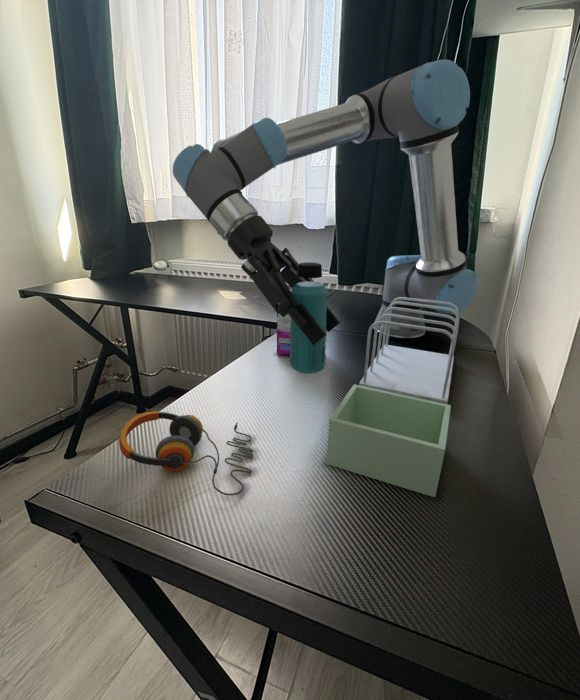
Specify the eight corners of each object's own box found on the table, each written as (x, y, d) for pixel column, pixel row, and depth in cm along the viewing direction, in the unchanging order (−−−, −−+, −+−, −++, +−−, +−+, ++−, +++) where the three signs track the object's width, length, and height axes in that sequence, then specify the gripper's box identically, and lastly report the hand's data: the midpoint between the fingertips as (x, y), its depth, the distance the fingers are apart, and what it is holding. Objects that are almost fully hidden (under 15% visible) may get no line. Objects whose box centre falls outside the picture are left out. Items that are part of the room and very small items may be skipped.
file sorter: (382, 351, 100) (389, 293, 94) (452, 363, 94) (465, 302, 88) (358, 390, 79) (365, 319, 73) (446, 409, 72) (462, 333, 67)
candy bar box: (321, 352, 98) (325, 290, 92) (319, 359, 94) (323, 294, 88) (280, 348, 100) (281, 287, 94) (275, 355, 96) (276, 291, 90)
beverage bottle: (326, 382, 66) (332, 266, 58) (288, 381, 66) (289, 265, 58) (323, 366, 72) (329, 260, 64) (288, 365, 72) (290, 259, 64)
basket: (350, 422, 67) (353, 384, 64) (442, 446, 61) (451, 405, 58) (326, 464, 57) (329, 419, 54) (435, 497, 51) (445, 449, 48)
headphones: (250, 483, 48) (95, 448, 47) (242, 514, 50) (93, 481, 49) (263, 415, 64) (147, 387, 63) (256, 440, 66) (143, 414, 65)
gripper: (257, 239, 75) (330, 329, 75) (195, 249, 58) (289, 365, 58) (281, 211, 71) (359, 306, 70) (222, 214, 54) (323, 338, 54)
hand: (327, 333), depth 64 cm, fingers closed on beverage bottle, 6 cm apart
